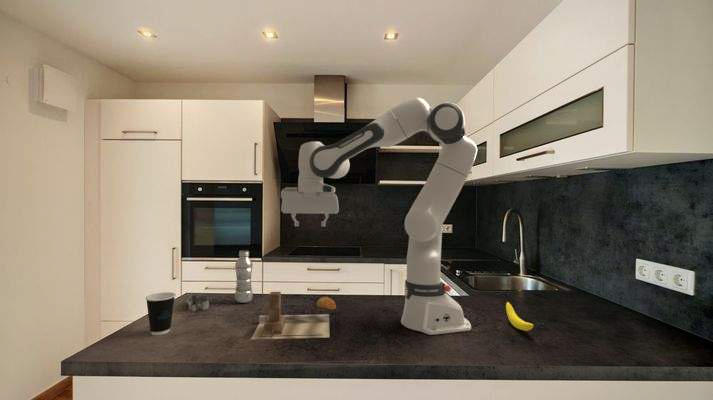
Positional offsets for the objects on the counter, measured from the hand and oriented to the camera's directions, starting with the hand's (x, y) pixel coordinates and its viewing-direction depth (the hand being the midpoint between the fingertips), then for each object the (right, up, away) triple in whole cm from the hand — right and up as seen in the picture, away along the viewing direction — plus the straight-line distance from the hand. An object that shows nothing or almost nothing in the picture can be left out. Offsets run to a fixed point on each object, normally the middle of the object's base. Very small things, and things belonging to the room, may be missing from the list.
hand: (310, 226), depth 119 cm
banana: (+69, -33, -11) cm, 77 cm away
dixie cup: (-43, -31, -18) cm, 56 cm away
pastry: (+6, -32, +6) cm, 33 cm away
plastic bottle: (-28, -31, +12) cm, 43 cm away
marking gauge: (-8, -30, -19) cm, 36 cm away
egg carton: (-43, -31, +6) cm, 53 cm away
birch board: (-3, -31, -18) cm, 36 cm away
